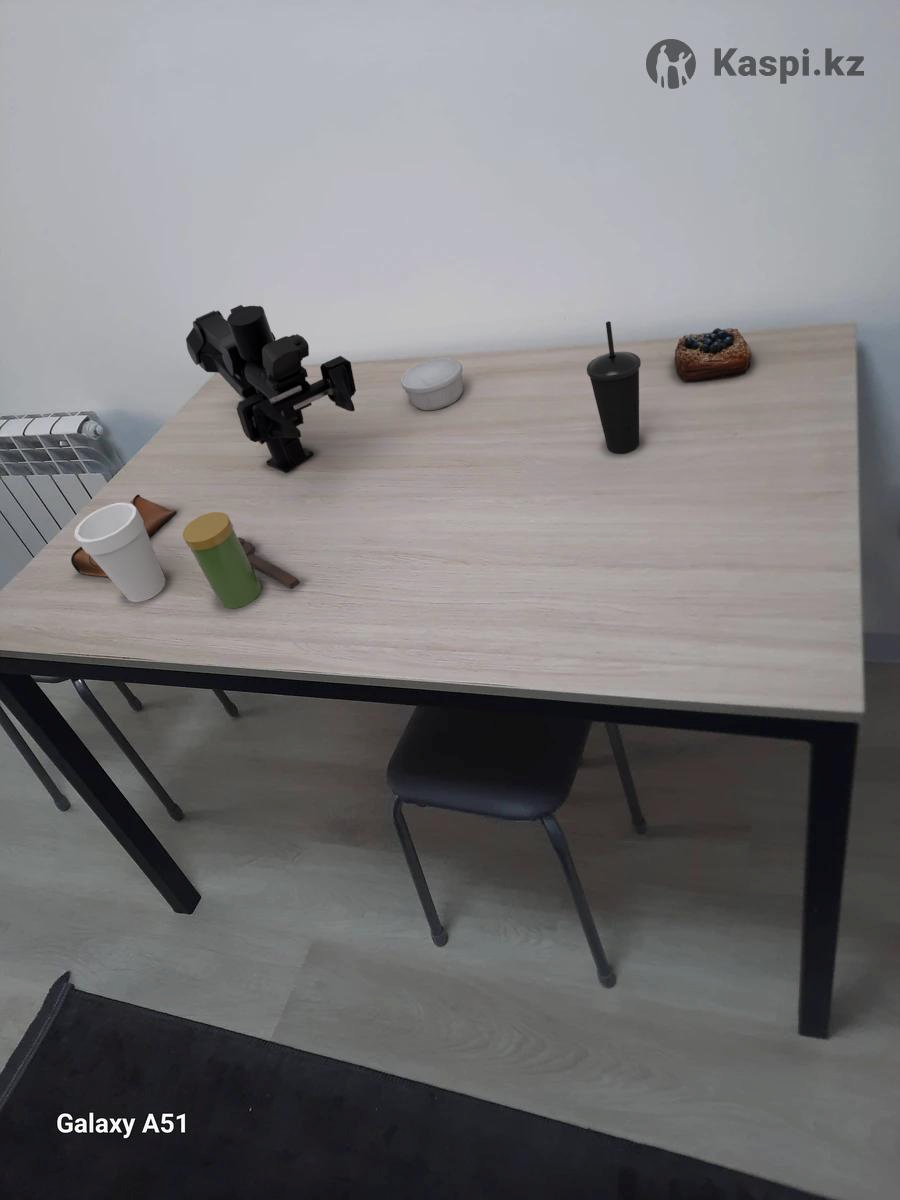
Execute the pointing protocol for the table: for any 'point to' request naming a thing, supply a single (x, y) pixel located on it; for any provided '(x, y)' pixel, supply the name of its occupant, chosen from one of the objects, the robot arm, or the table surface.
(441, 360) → the ramekin
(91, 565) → the sunglasses case
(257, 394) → the robot arm
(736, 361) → the pastry
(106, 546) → the foam cup
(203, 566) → the pickle jar
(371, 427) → the table surface
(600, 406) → the drinking cup
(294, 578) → the spoon
